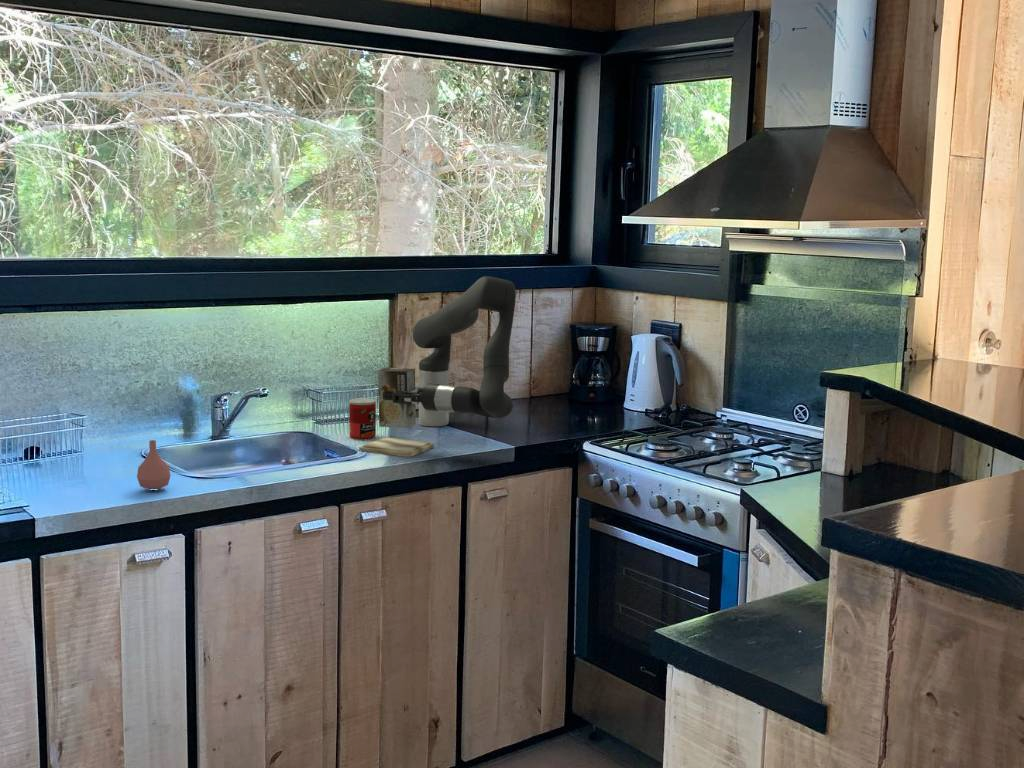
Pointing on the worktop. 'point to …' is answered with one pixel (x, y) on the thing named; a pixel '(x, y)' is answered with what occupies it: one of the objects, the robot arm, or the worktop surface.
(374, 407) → the canned food
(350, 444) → the worktop surface
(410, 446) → the folded beige cloth
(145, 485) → the terracotta vase
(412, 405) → the coffee box
